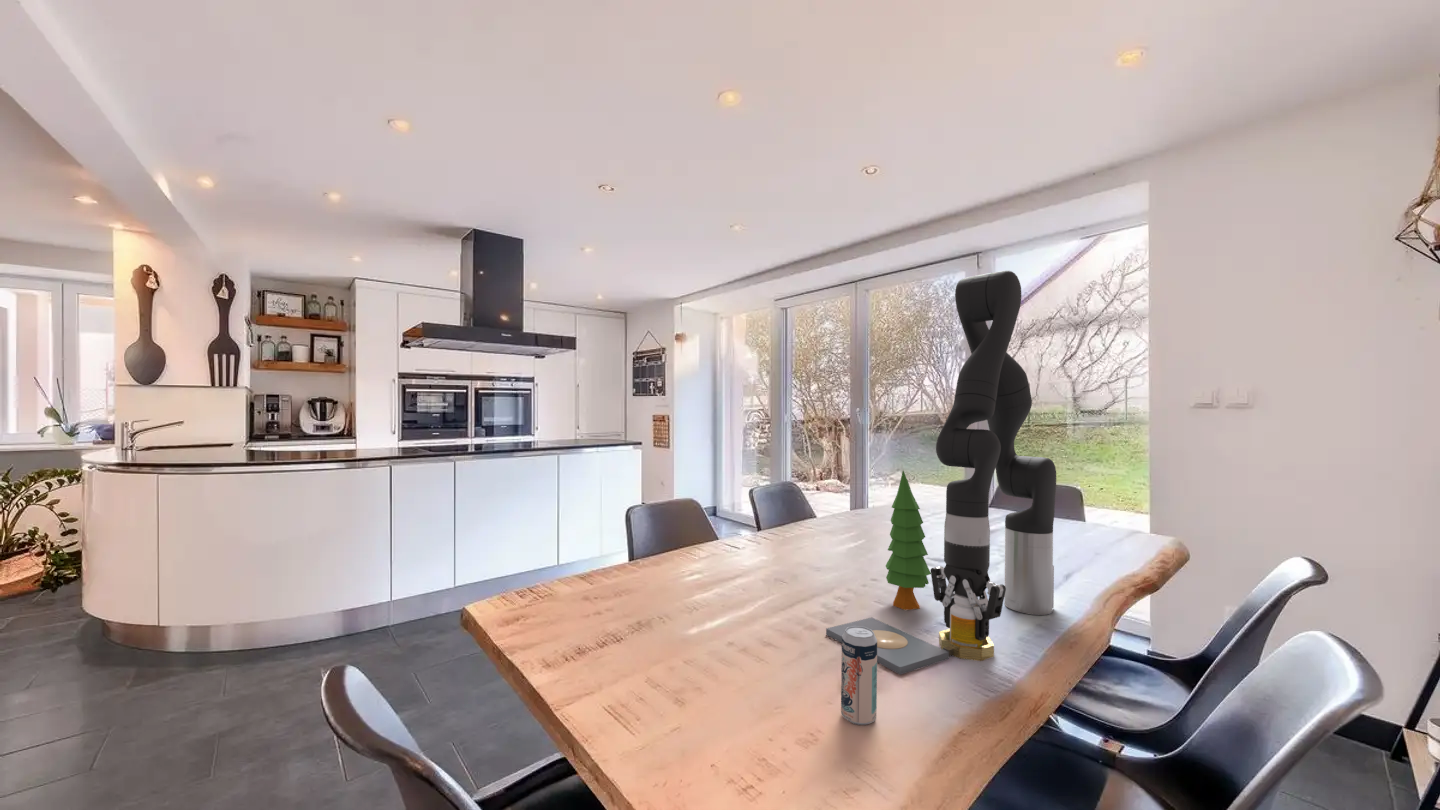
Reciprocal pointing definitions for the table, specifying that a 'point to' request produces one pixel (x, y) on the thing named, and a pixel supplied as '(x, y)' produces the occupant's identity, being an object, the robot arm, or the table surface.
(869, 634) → the beer can
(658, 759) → the table surface
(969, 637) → the supplement bottle
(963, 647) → the collar
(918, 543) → the decorative tree
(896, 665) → the board
